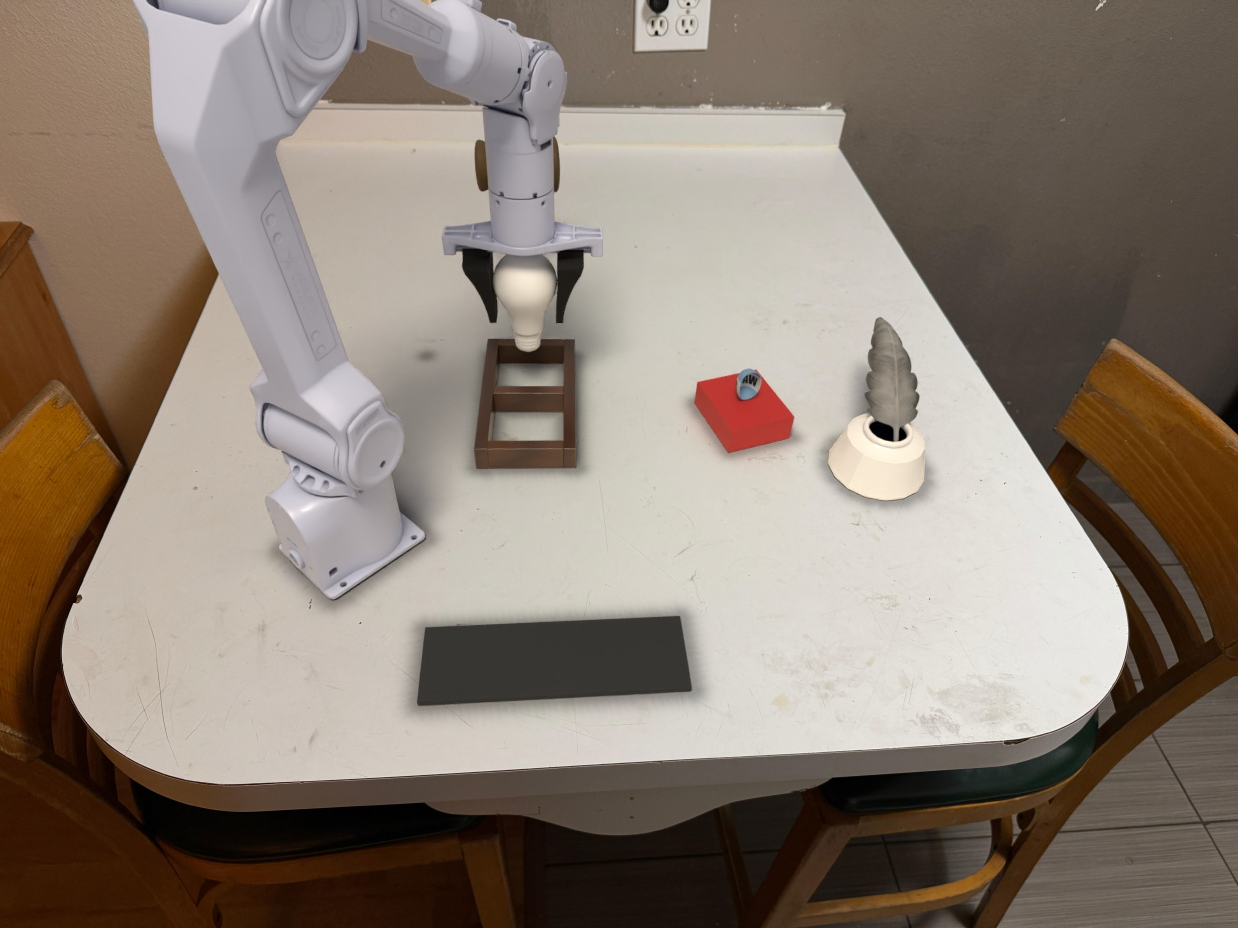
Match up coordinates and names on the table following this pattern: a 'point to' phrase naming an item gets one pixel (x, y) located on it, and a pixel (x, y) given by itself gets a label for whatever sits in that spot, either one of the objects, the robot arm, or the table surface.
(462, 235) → the robot arm
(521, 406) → the holder
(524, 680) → the mat
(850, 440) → the inkwell
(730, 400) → the red slab
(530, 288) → the lightbulb
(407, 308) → the table surface
